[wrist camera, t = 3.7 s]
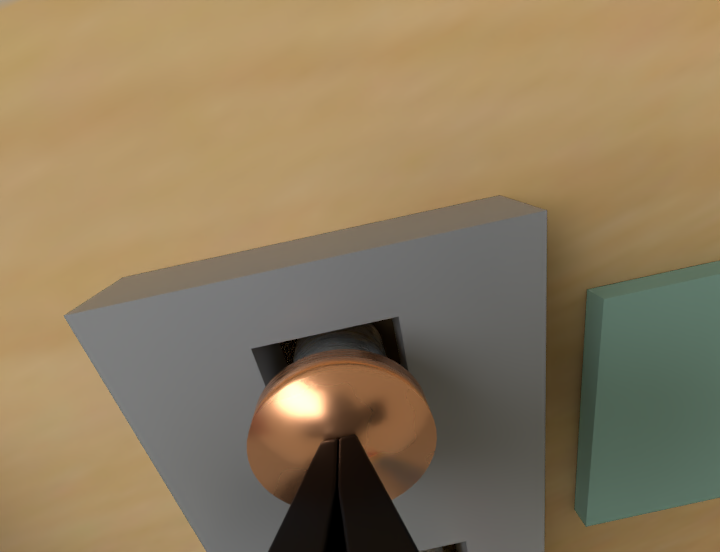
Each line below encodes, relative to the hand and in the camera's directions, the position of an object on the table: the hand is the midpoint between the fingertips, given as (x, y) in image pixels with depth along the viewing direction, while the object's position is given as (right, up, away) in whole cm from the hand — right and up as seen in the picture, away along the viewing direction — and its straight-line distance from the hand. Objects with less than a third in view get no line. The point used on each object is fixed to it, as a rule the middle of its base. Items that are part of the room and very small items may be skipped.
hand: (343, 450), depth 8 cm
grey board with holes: (+1, -5, +7) cm, 8 cm away
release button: (0, +2, +4) cm, 4 cm away
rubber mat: (+15, -1, +6) cm, 17 cm away
